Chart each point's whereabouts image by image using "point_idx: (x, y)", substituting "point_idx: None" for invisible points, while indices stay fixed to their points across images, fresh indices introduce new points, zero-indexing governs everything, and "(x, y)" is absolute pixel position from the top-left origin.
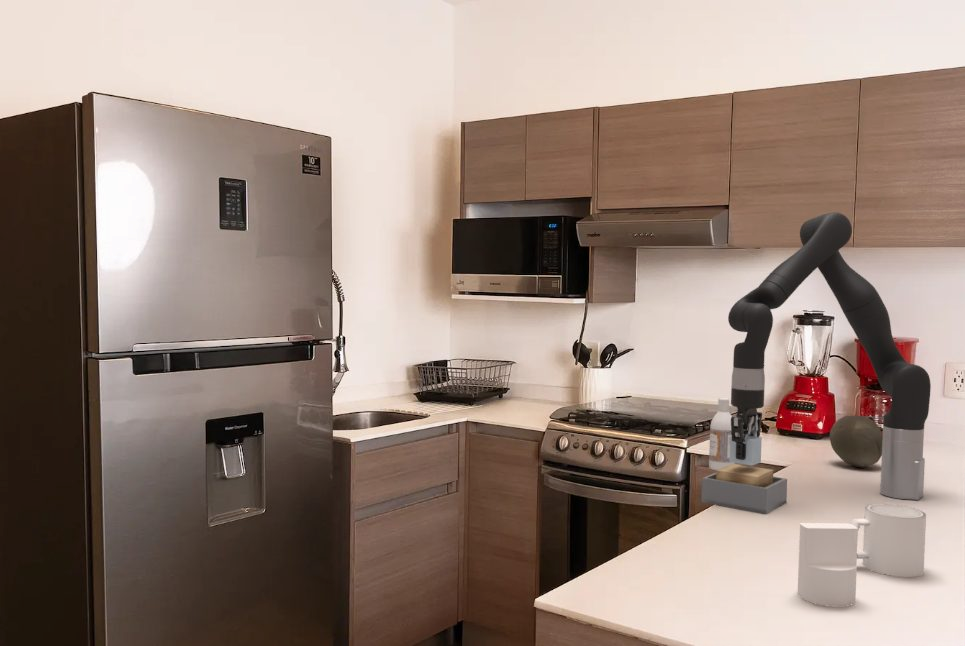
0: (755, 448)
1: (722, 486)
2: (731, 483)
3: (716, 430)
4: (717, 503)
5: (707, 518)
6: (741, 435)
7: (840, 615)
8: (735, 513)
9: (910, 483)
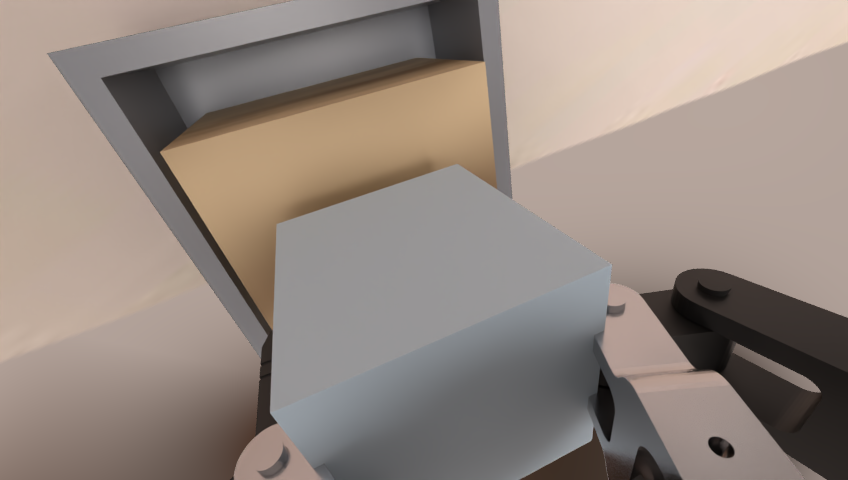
0: (458, 240)
1: None
2: (508, 179)
3: None
4: None
5: (624, 100)
6: (821, 309)
7: None
8: (514, 84)
9: None
